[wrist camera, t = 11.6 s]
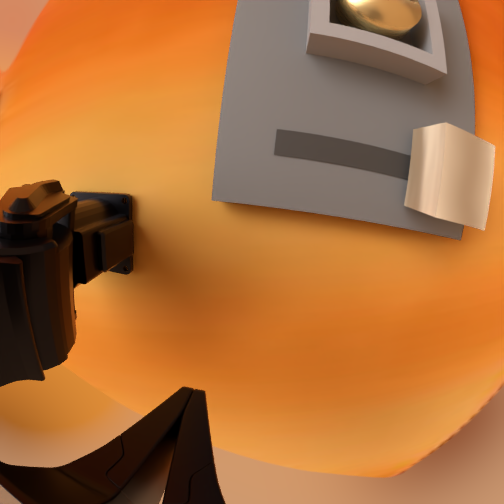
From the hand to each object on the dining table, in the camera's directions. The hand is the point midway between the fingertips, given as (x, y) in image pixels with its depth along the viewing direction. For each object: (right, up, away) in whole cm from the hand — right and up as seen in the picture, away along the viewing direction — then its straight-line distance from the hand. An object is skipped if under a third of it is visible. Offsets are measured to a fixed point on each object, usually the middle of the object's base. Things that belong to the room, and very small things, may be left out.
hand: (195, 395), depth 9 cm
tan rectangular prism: (+14, +10, +6) cm, 18 cm away
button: (+10, +21, +3) cm, 23 cm away
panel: (+10, +21, +5) cm, 24 cm away
